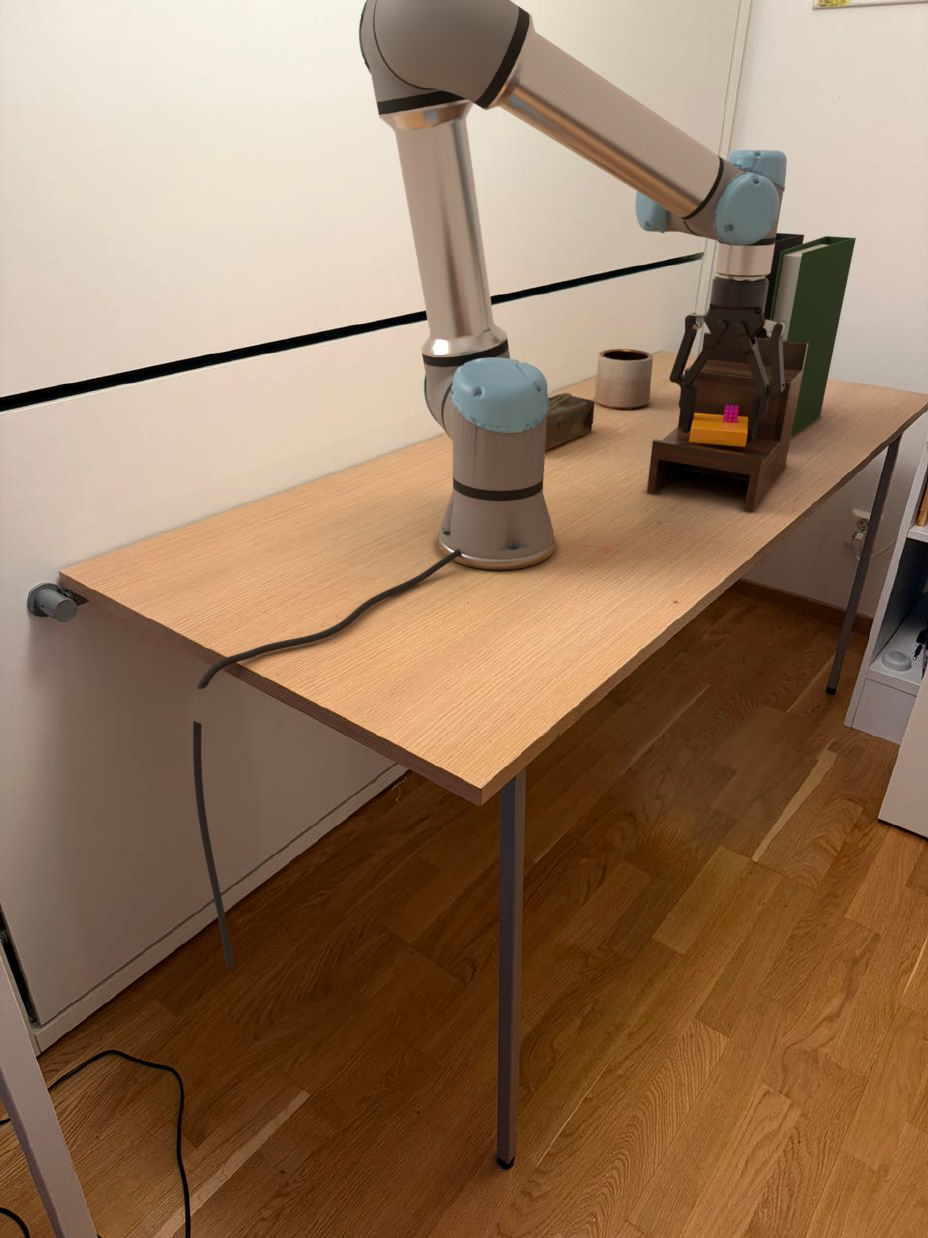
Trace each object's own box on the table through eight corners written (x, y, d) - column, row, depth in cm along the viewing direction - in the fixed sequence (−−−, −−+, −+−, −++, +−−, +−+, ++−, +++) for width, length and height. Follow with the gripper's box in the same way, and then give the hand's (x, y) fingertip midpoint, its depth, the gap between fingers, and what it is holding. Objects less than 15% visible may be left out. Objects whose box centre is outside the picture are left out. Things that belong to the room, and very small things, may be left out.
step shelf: (752, 512, 130) (776, 373, 120) (646, 492, 136) (661, 360, 127) (785, 466, 147) (808, 342, 138) (690, 450, 154) (706, 331, 144)
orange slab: (745, 447, 130) (749, 418, 128) (689, 442, 132) (692, 413, 130) (746, 431, 136) (750, 403, 134) (692, 426, 138) (696, 399, 136)
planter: (584, 399, 183) (587, 351, 178) (628, 393, 187) (633, 346, 182) (613, 412, 174) (617, 363, 170) (659, 406, 178) (665, 357, 174)
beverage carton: (594, 432, 163) (597, 396, 160) (533, 459, 150) (535, 420, 147) (558, 423, 167) (560, 388, 164) (496, 449, 154) (496, 411, 151)
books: (773, 453, 153) (808, 253, 137) (691, 437, 160) (716, 246, 145) (819, 416, 172) (855, 237, 157) (745, 404, 180) (772, 232, 164)
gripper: (828, 278, 121) (797, 439, 132) (673, 267, 130) (656, 418, 141) (818, 285, 116) (787, 453, 127) (656, 273, 125) (641, 431, 136)
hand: (718, 435), depth 134 cm, fingers closed on orange slab, 9 cm apart
